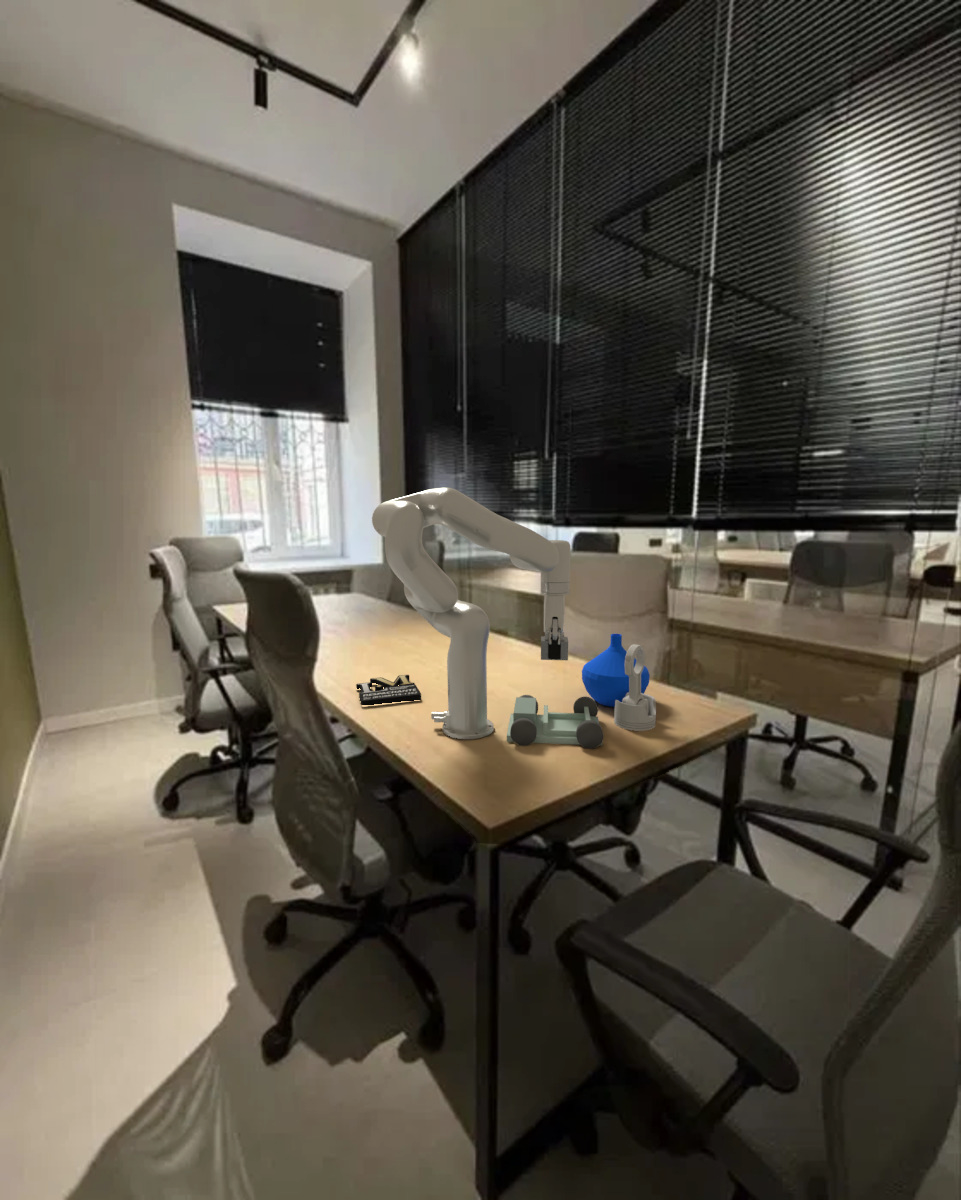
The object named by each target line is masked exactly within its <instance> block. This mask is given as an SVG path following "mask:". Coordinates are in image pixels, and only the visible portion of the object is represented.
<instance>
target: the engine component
mask: <svg viewBox="0 0 961 1200" xmlns="http://www.w3.org/2000/svg"><path fill="white" fill-rule="evenodd" d="M626 651H627V653H626V657H625V674H626V675H628V676H629V692H628V693H627V694H626V697H624V698H623V700H622V702H619V701H618V700H615V707H614V715H613V716H614V720H613V721H614V724H615V725H616V726H617V727H619V728H621V729H623V728H624V730H627V729H628V731H632V730H634V731H633V732H645V730H647V731H650V729H651V730H653V729H654V728H656V720H657V719H656V717H657V714H656V713H657V707H656V702H657V701H656V700H657V699H656V698H655V697H654V696H653V695H649V694H647V693H644V694H643V693H641V673H642V671H643V668H644V666H645V664H646V651H645V648H644V647H643V646H642V645H641V644H634V643H633V644H631V645H630V646H629V647H628V649H627V650H626ZM635 657H636V658H635ZM634 658H635V659H636V664H635V667H634ZM652 728H653V729H652Z"/></svg>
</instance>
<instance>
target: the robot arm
mask: <svg viewBox="0 0 961 1200" xmlns="http://www.w3.org/2000/svg"><path fill="white" fill-rule="evenodd" d="M371 523H372V527H373V528H374V531H375V532H376V533H377V534H379V535H380V536H381V537H384V551H385V557H386V558H385V559H386V562H387V564H388V566H389V568H390V570H391V571H392V573H394V575H395V576H396V577H397V578H398V579H399V580H400V582H401V583H402V584H403V594H404V595H405V597H406V600H407V602H408V603H409V604H410V606H411V607H412V608H413V609H414V610H416V612H417V613H418V614H419V615H421V617H422V618H423V619H424V620H425V621H426V622H427V623H429V625H430V626H432V627H433V628H434V629H435V630H436V631H437V632H438V633H440V634H442V635H443V636H445V637H448V638H450V643H449V648H448V652H447V657H446V659H447V661H446V662H447V663H446V664H447V665H446V667H447V668H446V670H447V704H448V705H447V706H448V707H447V709H448V710H444V711H441V712H440V711H432V712H431V717H430V718H431V720H433V721H434V723H443V724H442V726H441V727H442V732H443V734H444V735H445V736H447V735H448V737H449V736H450V737H449V738H453V739H456V738H457V740H476V739H481V738H485V737H487V736H489V735H490V734H492V733H493V731H494V729H495V728H494V723H493V722H492V721H491V720H490V719H488V690H487V689H488V686H487V685H488V683H487V682H488V681H487V679H488V677H487V672H488V671H487V670H488V669H487V668H488V667H487V651H488V644H489V643H488V642H489V637H490V630H491V623H490V619H489V616H488V615H487V613H486V612H485V610H484V609H482V608H481V606H478V605H476V604H475V603H471V602H468V601H463V600H459V591H458V588H457V585H456V584H455V582H454V581H453V580H452V578H450V576H448V575H447V574H446V573H445V571H443V569H442V568H441V567H440V566H439V565H438V564H437V563H436V561H434V560H433V558H431V556H430V555H429V554H428V552H427V551H426V549H425V547H424V544H423V534H424V533H423V531H424V529H425V528H427V527H430V526H433V525H441V526H443V527H445V528H447V529H449V530H450V531H453V532H454V533H456V534H458V535H459V536H462V537H463V538H466V539H467V540H468V541H470V542H472V543H473V544H476V545H478V546H479V547H482V548H485V549H488V550H489V551H495V552H499V553H503V554H507V555H509V560H510V562H511V564H513V566H515V567H516V568H518V569H521V570H524V571H531V572H537V573H540V594H541V595H543V596H544V597H543V598H544V599H543V633H544V634H545V633H546V632H549V644H548V659H560V658H561V644H560V633H562V632H564V626H565V625H564V624H565V622H564V621H565V606H566V604H565V603H566V596H568V595H570V589H571V552H572V551H571V544H570V542H569V541H568V540H563V539H554V540H553V539H550V540H549V539H547V538H546V537H545V536H542V535H541V534H539V533H538V532H536V531H535V530H533V529H531V528H529V527H526V526H524V525H521V524H520V523H517V522H515V521H512V520H511V519H509V518H506V517H504V516H502V515H499V514H497V513H495V512H494V511H492V510H490V509H488V507H485V506H484V505H482V504H480V503H479V502H477V501H476V500H474V499H472V498H471V497H469V496H468V495H466V494H464V493H463V492H460V490H458V489H456V488H452V487H446V486H445V487H436V488H435V487H434V488H430V489H426V490H423V491H419V492H416V493H412V494H409V495H405V496H402V497H398V498H394V499H390V500H387V501H384V502H382V503H380V504H379V505H378V506H377V507H376V508H375V509H374V510H373V513H372V517H371ZM551 635H553V636H551ZM557 635H558V636H557Z"/></svg>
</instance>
